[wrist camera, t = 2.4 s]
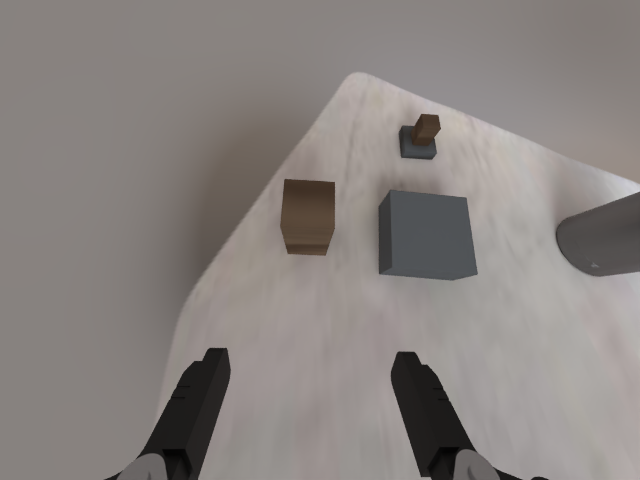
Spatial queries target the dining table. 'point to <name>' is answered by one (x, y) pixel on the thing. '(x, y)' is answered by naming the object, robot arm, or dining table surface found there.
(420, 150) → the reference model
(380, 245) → the slate base block
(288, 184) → the walnut block
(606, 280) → the dining table surface
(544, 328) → the dining table surface
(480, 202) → the dining table surface
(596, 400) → the dining table surface
